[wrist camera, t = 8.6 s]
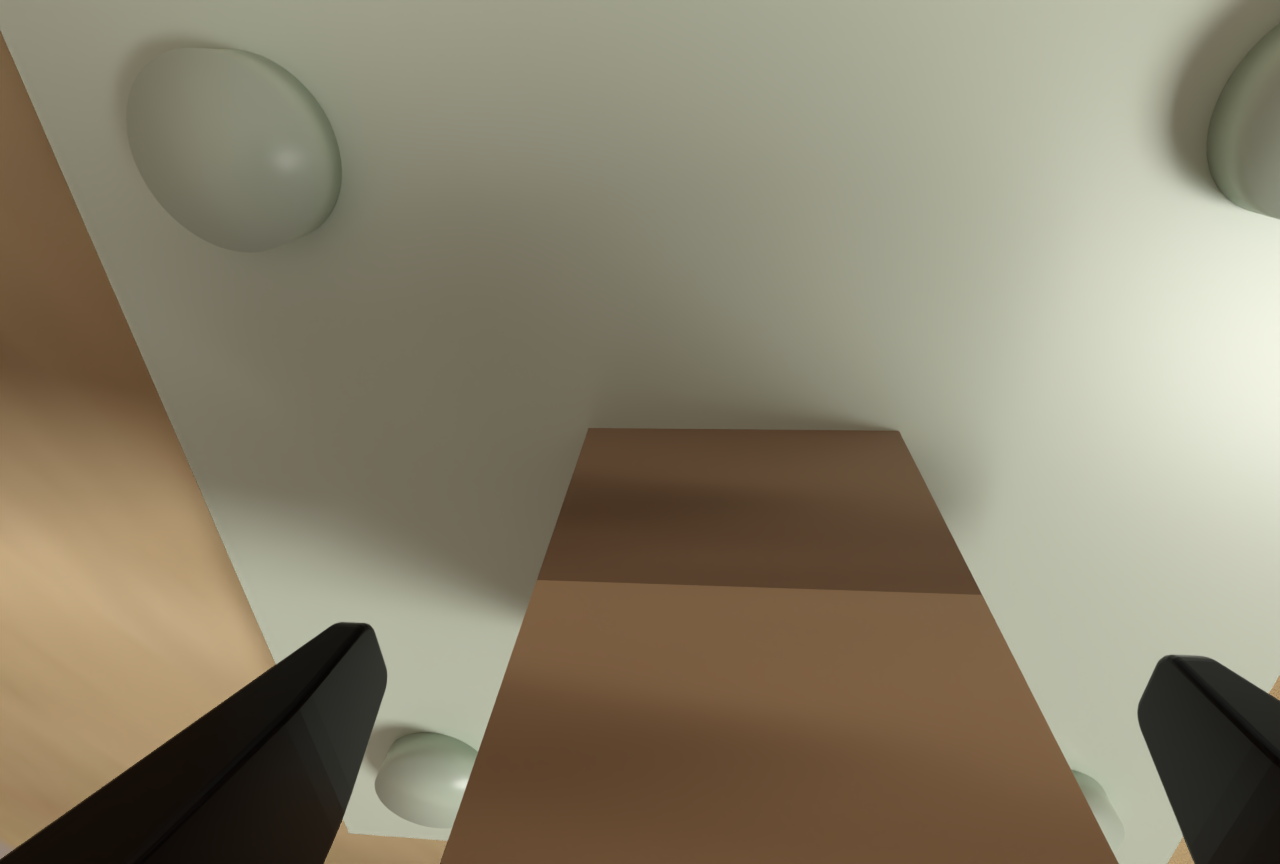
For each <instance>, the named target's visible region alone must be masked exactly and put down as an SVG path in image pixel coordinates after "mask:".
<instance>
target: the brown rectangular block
mask: <svg viewBox="0 0 1280 864" xmlns="http://www.w3.org/2000/svg"><path fill="white" fill-rule="evenodd" d="M440 864H1119V863H1118V861H1117V859H1116V857H1115V855H1114V853H1113V851H1112V849H1111V848H1110V846H1109V844H1108V842H1107V840H1106V838H1105V836H1104V834H1103V832H1102V830H1101V828H1100V826H1099V824H1098V822H1097V820H1096V818H1095V816H1094V814H1093V812H1092V810H1091V808H1090V806H1089V804H1088V802H1087V800H1086V798H1085V796H1084V794H1083V792H1082V790H1081V788H1080V786H1079V785H1078V783H1077V781H1076V779H1075V777H1074V775H1073V773H1072V771H1071V769H1070V767H1069V765H1068V763H1067V761H1066V759H1065V757H1064V755H1063V753H1062V751H1061V749H1060V747H1059V745H1058V743H1057V741H1056V739H1055V737H1054V735H1053V733H1052V731H1051V729H1050V727H1049V725H1048V723H1047V721H1046V720H1045V718H1044V716H1043V714H1042V712H1041V710H1040V708H1039V706H1038V704H1037V702H1036V700H1035V698H1034V696H1033V694H1032V692H1031V690H1030V688H1029V686H1028V684H1027V682H1026V680H1025V678H1024V676H1023V674H1022V672H1021V670H1020V668H1019V666H1018V664H1017V662H1016V660H1015V658H1014V657H1013V655H1012V653H1011V651H1010V649H1009V647H1008V645H1007V643H1006V641H1005V639H1004V637H1003V635H1002V633H1001V631H1000V629H999V627H998V625H997V623H996V621H995V619H994V617H993V615H992V613H991V611H990V609H989V607H988V605H987V603H986V601H985V599H984V597H983V595H982V594H981V592H980V590H979V588H978V586H977V584H976V582H975V580H974V578H973V576H972V574H971V572H970V570H969V568H968V566H967V564H966V562H965V560H964V558H963V556H962V554H961V552H960V550H959V548H958V546H957V544H956V542H955V540H954V538H953V536H952V534H951V532H950V531H949V529H948V527H947V525H946V523H945V521H944V519H943V517H942V515H941V513H940V511H939V509H938V507H937V505H936V503H935V501H934V499H933V497H932V495H931V493H930V491H929V489H928V487H927V485H926V483H925V481H924V479H923V477H922V475H921V473H920V471H919V469H918V467H917V466H916V464H915V462H914V460H913V458H912V456H911V454H910V452H909V450H908V448H907V446H906V444H905V442H904V440H903V438H902V436H901V434H900V432H899V431H866V430H757V429H648V428H588V431H587V434H586V437H585V440H584V443H583V446H582V449H581V451H580V454H579V457H578V460H577V463H576V466H575V469H574V472H573V475H572V478H571V481H570V484H569V487H568V490H567V493H566V495H565V498H564V501H563V504H562V507H561V510H560V513H559V516H558V519H557V522H556V525H555V528H554V531H553V534H552V537H551V539H550V542H549V545H548V548H547V551H546V554H545V557H544V560H543V563H542V566H541V569H540V572H539V575H538V578H537V581H536V583H535V586H534V589H533V592H532V595H531V598H530V601H529V604H528V607H527V610H526V613H525V616H524V619H523V622H522V625H521V628H520V630H519V633H518V636H517V639H516V642H515V645H514V648H513V651H512V654H511V657H510V660H509V663H508V666H507V669H506V672H505V674H504V677H503V680H502V683H501V686H500V689H499V692H498V695H497V698H496V701H495V704H494V707H493V710H492V713H491V716H490V718H489V721H488V724H487V727H486V730H485V733H484V736H483V739H482V742H481V745H480V748H479V751H478V754H477V757H476V760H475V762H474V765H473V768H472V771H471V774H470V777H469V780H468V783H467V786H466V789H465V792H464V795H463V798H462V801H461V804H460V806H459V809H458V812H457V815H456V818H455V821H454V824H453V827H452V830H451V833H450V836H449V839H448V842H447V845H446V848H445V851H444V853H443V856H442V859H441V862H440Z"/></svg>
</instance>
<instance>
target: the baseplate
mask: <svg viewBox="0 0 1280 864" xmlns="http://www.w3.org/2000/svg"><path fill="white" fill-rule="evenodd" d="M0 31H1V33H2V35H3V37H4V40H5V42H6V44H7V47H8V49H9V51H10V54H11V56H12V58H13V60H14V63H15V65H16V67H17V70H18V72H19V74H20V77H21V79H22V81H23V84H24V86H25V88H26V90H27V93H28V95H29V97H30V100H31V102H32V104H33V107H34V109H35V111H36V113H37V116H38V118H39V120H40V123H41V125H42V127H43V130H44V132H45V134H46V136H47V139H48V141H49V143H50V146H51V148H52V150H53V153H54V155H55V157H56V160H57V162H58V164H59V166H60V169H61V171H62V173H63V176H64V178H65V180H66V183H67V185H68V187H69V189H70V192H71V194H72V196H73V199H74V201H75V203H76V206H77V208H78V210H79V212H80V215H81V217H82V219H83V222H84V224H85V226H86V229H87V231H88V233H89V235H90V238H91V240H92V242H93V245H94V247H95V249H96V252H97V254H98V256H99V259H100V261H101V263H102V265H103V268H104V270H105V272H106V275H107V277H108V279H109V282H110V284H111V286H112V288H113V291H114V293H115V295H116V298H117V300H118V302H119V305H120V307H121V309H122V311H123V314H124V316H125V318H126V321H127V323H128V325H129V328H130V330H131V332H132V335H133V337H134V339H135V341H136V344H137V346H138V348H139V351H140V353H141V355H142V358H143V360H144V362H145V364H146V367H147V369H148V371H149V374H150V376H151V378H152V381H153V383H154V385H155V387H156V390H157V392H158V394H159V397H160V399H161V401H162V404H163V406H164V408H165V410H166V413H167V415H168V417H169V420H170V422H171V424H172V427H173V429H174V431H175V434H176V436H177V438H178V440H179V443H180V445H181V447H182V450H183V452H184V454H185V457H186V459H187V461H188V463H189V466H190V468H191V470H192V473H193V475H194V477H195V480H196V482H197V484H198V486H199V489H200V491H201V493H202V496H203V498H204V500H205V503H206V505H207V507H208V510H209V512H210V514H211V516H212V519H213V521H214V523H215V526H216V528H217V530H218V533H219V535H220V537H221V539H222V542H223V544H224V546H225V549H226V551H227V553H228V556H229V558H230V560H231V562H232V565H233V567H234V569H235V572H236V574H237V576H238V579H239V581H240V583H241V585H242V588H243V590H244V592H245V595H246V597H247V599H248V602H249V604H250V606H251V609H252V611H253V613H254V615H255V618H256V620H257V622H258V625H259V627H260V629H261V632H262V634H263V636H264V638H265V641H266V643H267V645H268V648H269V650H270V652H271V655H272V657H273V659H274V661H275V664H277V663H279V662H280V661H282V660H283V659H284V658H286V657H287V656H289V655H290V654H291V653H293V652H294V651H296V650H297V649H299V648H300V647H301V646H303V645H304V644H306V643H307V642H308V641H310V640H311V639H313V638H314V637H316V636H317V635H318V634H320V633H321V632H323V631H324V630H325V629H327V628H328V627H330V626H331V625H333V624H335V623H339V622H356V623H367V624H369V625H371V626H372V627H373V629H374V631H375V634H376V637H377V640H378V643H379V646H380V649H381V652H382V655H383V658H384V661H385V665H386V668H387V685H386V690H385V693H384V696H383V699H382V702H381V705H380V708H379V712H378V715H377V718H376V721H375V724H374V727H373V730H372V733H371V736H370V739H369V742H368V745H367V749H366V752H365V755H364V758H363V761H362V764H361V767H360V770H359V773H358V776H357V779H356V782H355V786H354V789H353V792H352V795H351V797H350V800H349V803H348V806H347V809H346V812H345V814H344V817H343V820H344V823H345V825H346V827H347V830H348V832H349V833H351V834H364V835H378V836H391V837H405V838H418V839H431V840H445V841H448V839H449V836H450V833H451V830H452V827H453V824H454V821H455V818H456V815H457V812H458V809H459V806H460V804H461V801H462V798H463V795H464V792H465V789H466V786H467V783H468V780H469V777H470V774H471V771H472V768H473V765H474V762H475V760H476V757H477V754H478V751H479V748H480V745H481V742H482V739H483V736H484V733H485V730H486V727H487V724H488V721H489V718H490V716H491V713H492V710H493V707H494V704H495V701H496V698H497V695H498V692H499V689H500V686H501V683H502V680H503V677H504V674H505V672H506V669H507V666H508V663H509V660H510V657H511V654H512V651H513V648H514V645H515V642H516V639H517V636H518V633H519V630H520V628H521V625H522V622H523V619H524V616H525V613H526V610H527V607H528V604H529V601H530V598H531V595H532V592H533V589H534V586H535V583H536V581H537V578H538V575H539V572H540V569H541V566H542V563H543V560H544V557H545V554H546V551H547V548H548V545H549V542H550V539H551V537H552V534H553V531H554V528H555V525H556V522H557V519H558V516H559V513H560V510H561V507H562V504H563V501H564V498H565V495H566V493H567V490H568V487H569V484H570V481H571V478H572V475H573V472H574V469H575V466H576V463H577V460H578V457H579V454H580V451H581V449H582V446H583V443H584V440H585V437H586V434H587V431H588V428H648V429H757V430H866V431H899V432H900V434H901V436H902V438H903V440H904V442H905V444H906V446H907V448H908V450H909V452H910V454H911V456H912V458H913V460H914V462H915V464H916V466H917V467H918V469H919V471H920V473H921V475H922V477H923V479H924V481H925V483H926V485H927V487H928V489H929V491H930V493H931V495H932V497H933V499H934V501H935V503H936V505H937V507H938V509H939V511H940V513H941V515H942V517H943V519H944V521H945V523H946V525H947V527H948V529H949V531H950V532H951V534H952V536H953V538H954V540H955V542H956V544H957V546H958V548H959V550H960V552H961V554H962V556H963V558H964V560H965V562H966V564H967V566H968V568H969V570H970V572H971V574H972V576H973V578H974V580H975V582H976V584H977V586H978V588H979V590H980V592H981V594H982V595H983V597H984V599H985V601H986V603H987V605H988V607H989V609H990V611H991V613H992V615H993V617H994V619H995V621H996V623H997V625H998V627H999V629H1000V631H1001V633H1002V635H1003V637H1004V639H1005V641H1006V643H1007V645H1008V647H1009V649H1010V651H1011V653H1012V655H1013V657H1014V658H1015V660H1016V662H1017V664H1018V666H1019V668H1020V670H1021V672H1022V674H1023V676H1024V678H1025V680H1026V682H1027V684H1028V686H1029V688H1030V690H1031V692H1032V694H1033V696H1034V698H1035V700H1036V702H1037V704H1038V706H1039V708H1040V710H1041V712H1042V714H1043V716H1044V718H1045V720H1046V721H1047V723H1048V725H1049V727H1050V729H1051V731H1052V733H1053V735H1054V737H1055V739H1056V741H1057V743H1058V745H1059V747H1060V749H1061V751H1062V753H1063V755H1064V757H1065V759H1066V761H1067V763H1068V765H1069V767H1070V769H1071V771H1072V773H1073V775H1074V777H1075V779H1076V781H1077V783H1078V785H1079V786H1080V788H1081V790H1082V792H1083V794H1084V796H1085V798H1086V800H1087V802H1088V804H1089V806H1090V808H1091V810H1092V812H1093V814H1094V816H1095V818H1096V820H1097V822H1098V824H1099V826H1100V828H1101V830H1102V832H1103V834H1104V836H1105V838H1106V840H1107V842H1108V844H1109V846H1110V848H1111V849H1112V851H1113V853H1114V855H1115V857H1116V859H1117V861H1118V863H1119V864H1167V863H1168V861H1169V860H1170V858H1171V856H1172V855H1173V853H1174V851H1175V850H1176V848H1177V846H1178V844H1179V843H1180V841H1181V839H1182V838H1183V834H1182V832H1181V829H1180V827H1179V824H1178V822H1177V819H1176V817H1175V814H1174V812H1173V809H1172V807H1171V804H1170V802H1169V799H1168V797H1167V795H1166V792H1165V790H1164V787H1163V785H1162V782H1161V780H1160V777H1159V775H1158V772H1157V770H1156V767H1155V765H1154V762H1153V760H1152V757H1151V755H1150V752H1149V750H1148V747H1147V745H1146V742H1145V740H1144V737H1143V735H1142V732H1141V729H1140V726H1139V722H1138V716H1137V710H1138V704H1139V701H1140V699H1141V696H1142V694H1143V692H1144V690H1145V688H1146V686H1147V683H1148V681H1149V679H1150V677H1151V675H1152V673H1153V670H1154V668H1155V666H1156V664H1157V662H1158V661H1159V660H1160V659H1161V658H1162V657H1164V656H1165V655H1170V654H1171V655H1197V656H1205V657H1209V658H1212V659H1214V660H1216V661H1217V662H1219V663H1221V664H1222V665H1224V666H1226V667H1227V668H1229V669H1230V670H1232V671H1233V672H1235V673H1237V674H1238V675H1240V676H1241V677H1243V678H1245V679H1246V680H1248V681H1249V682H1251V683H1252V684H1254V685H1256V686H1257V687H1259V688H1260V689H1262V690H1264V691H1265V692H1267V693H1268V694H1269V692H1270V690H1271V689H1272V687H1273V685H1274V684H1275V682H1276V680H1277V679H1278V677H1279V675H1280V0H0Z"/></svg>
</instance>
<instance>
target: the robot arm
mask: <svg viewBox="0 0 1280 864" xmlns="http://www.w3.org/2000/svg"><path fill="white" fill-rule="evenodd" d="M386 685H387V668H386V665H385V661H384V658H383V655H382V652H381V649H380V646H379V643H378V640H377V637H376V634H375V631H374V629H373V627H372V626H371V625H369V624H367V623H356V622H339V623H335V624H333V625H331V626H330V627H328V628H327V629H325V630H324V631H323V632H321V633H320V634H318V635H317V636H316V637H314V638H313V639H311V640H310V641H308V642H307V643H306V644H304V645H303V646H301V647H300V648H299V649H297V650H296V651H294V652H293V653H291V654H290V655H289V656H287V657H286V658H284V659H283V660H282V661H280V662H279V663H277V664H276V665H275V666H273V667H272V668H270V669H269V670H267V671H266V672H265V673H263V674H262V675H260V676H259V677H258V678H256V679H255V680H253V681H252V682H250V683H249V684H248V685H246V686H245V687H243V688H242V689H241V690H239V691H238V692H236V693H235V694H233V695H232V696H231V697H229V698H228V699H226V700H225V701H224V702H222V703H221V704H219V705H218V706H217V707H215V708H214V709H212V710H211V711H209V712H208V713H207V714H205V715H204V716H202V717H201V718H200V719H198V720H197V721H195V722H194V723H192V724H191V725H190V726H188V727H187V728H185V729H184V730H183V731H181V732H180V733H178V734H177V735H175V736H174V737H173V738H171V739H170V740H168V741H167V742H166V743H164V744H163V745H161V746H160V747H159V748H157V749H156V750H154V751H153V752H151V753H150V754H149V755H147V756H146V757H144V758H143V759H142V760H140V761H139V762H137V763H136V764H134V765H133V766H132V767H130V768H129V769H127V770H126V771H125V772H123V773H122V774H120V775H119V776H117V777H116V778H115V779H113V780H112V781H110V782H109V783H108V784H106V785H105V786H103V787H102V788H101V789H99V790H98V791H96V792H95V793H93V794H92V795H91V796H89V797H88V798H86V799H85V800H84V801H82V802H81V803H79V804H78V805H76V806H75V807H74V808H72V809H71V810H69V811H68V812H67V813H65V814H64V815H62V816H61V817H59V818H58V819H57V820H55V821H54V822H52V823H51V824H50V825H48V826H47V827H45V828H44V829H42V830H41V831H40V832H38V833H37V834H35V835H34V836H33V837H31V838H30V839H28V840H27V841H25V842H24V843H23V844H21V845H20V846H18V847H17V848H16V849H14V850H13V851H11V852H10V853H8V854H7V855H6V856H4V857H3V858H1V859H0V864H324V861H325V859H326V857H327V855H328V852H329V850H330V848H331V845H332V843H333V841H334V839H335V836H336V834H337V831H338V829H339V827H340V824H341V822H342V819H343V817H344V814H345V812H346V809H347V806H348V803H349V800H350V797H351V795H352V792H353V789H354V786H355V782H356V779H357V776H358V773H359V770H360V767H361V764H362V761H363V758H364V755H365V752H366V749H367V745H368V742H369V739H370V736H371V733H372V730H373V727H374V724H375V721H376V718H377V715H378V712H379V708H380V705H381V702H382V699H383V696H384V693H385V690H386ZM1137 716H1138V722H1139V726H1140V729H1141V732H1142V735H1143V737H1144V740H1145V742H1146V745H1147V747H1148V750H1149V752H1150V755H1151V757H1152V760H1153V762H1154V765H1155V767H1156V770H1157V772H1158V775H1159V777H1160V780H1161V782H1162V785H1163V787H1164V790H1165V792H1166V795H1167V797H1168V799H1169V802H1170V804H1171V807H1172V809H1173V812H1174V814H1175V817H1176V819H1177V822H1178V824H1179V827H1180V829H1181V832H1182V834H1183V837H1184V839H1185V842H1186V844H1187V847H1188V849H1189V852H1190V854H1191V856H1192V859H1193V861H1194V863H1195V864H1280V701H1279V700H1278V699H1276V698H1275V697H1273V696H1272V695H1270V694H1268V693H1267V692H1265V691H1264V690H1262V689H1260V688H1259V687H1257V686H1256V685H1254V684H1252V683H1251V682H1249V681H1248V680H1246V679H1245V678H1243V677H1241V676H1240V675H1238V674H1237V673H1235V672H1233V671H1232V670H1230V669H1229V668H1227V667H1226V666H1224V665H1222V664H1221V663H1219V662H1217V661H1216V660H1214V659H1212V658H1209V657H1205V656H1197V655H1171V654H1170V655H1165V656H1164V657H1162V658H1161V659H1160V660H1159V661H1158V662H1157V664H1156V666H1155V668H1154V670H1153V673H1152V675H1151V677H1150V679H1149V681H1148V683H1147V686H1146V688H1145V690H1144V692H1143V694H1142V696H1141V699H1140V701H1139V704H1138V710H1137Z"/></svg>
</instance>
